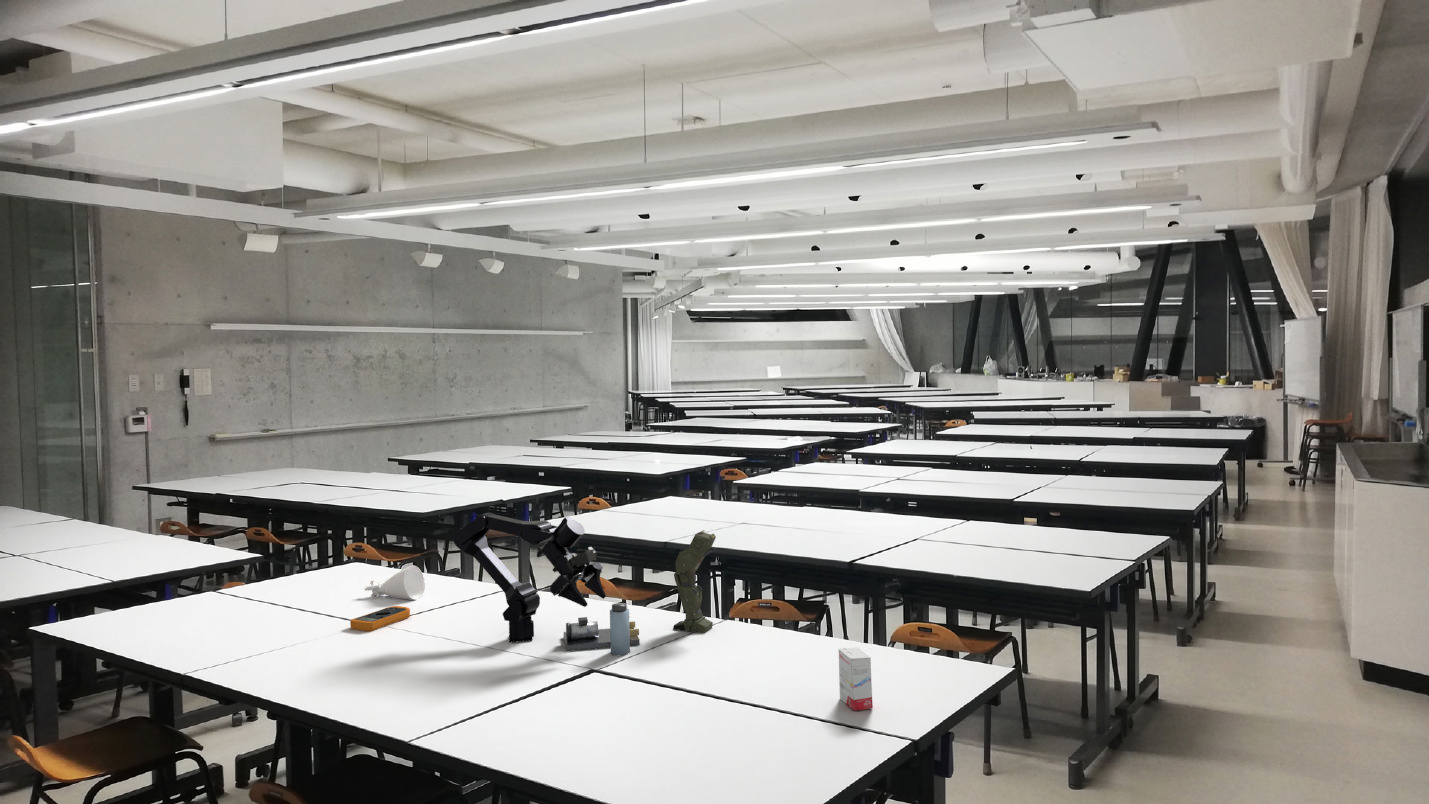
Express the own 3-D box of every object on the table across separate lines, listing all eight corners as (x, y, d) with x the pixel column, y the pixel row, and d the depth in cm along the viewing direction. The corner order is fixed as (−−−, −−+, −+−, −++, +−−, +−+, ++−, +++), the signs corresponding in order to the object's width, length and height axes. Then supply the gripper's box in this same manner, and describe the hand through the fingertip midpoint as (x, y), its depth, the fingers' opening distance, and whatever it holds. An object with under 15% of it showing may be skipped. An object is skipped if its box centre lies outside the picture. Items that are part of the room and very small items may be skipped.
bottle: (611, 656, 248) (610, 608, 248) (609, 650, 253) (608, 603, 253) (631, 654, 249) (630, 606, 249) (628, 648, 254) (627, 601, 254)
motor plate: (566, 651, 253) (566, 625, 253) (563, 637, 266) (563, 613, 266) (641, 644, 258) (640, 619, 257) (634, 631, 270) (634, 607, 270)
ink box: (873, 709, 207) (872, 657, 207) (852, 712, 206) (851, 659, 206) (858, 696, 216) (858, 646, 215) (838, 698, 215) (837, 647, 214)
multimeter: (413, 617, 291) (413, 607, 290) (370, 633, 274) (369, 622, 274) (392, 615, 294) (392, 604, 294) (348, 630, 278) (348, 619, 278)
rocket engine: (362, 568, 317) (408, 559, 312) (382, 584, 325) (427, 575, 321) (354, 599, 309) (401, 590, 305) (375, 614, 318) (421, 605, 313)
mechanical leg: (659, 626, 272) (680, 528, 268) (670, 619, 279) (690, 524, 275) (702, 641, 268) (723, 542, 264) (711, 634, 274) (732, 538, 270)
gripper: (558, 545, 247) (594, 590, 243) (596, 533, 264) (630, 575, 260) (534, 572, 251) (569, 617, 246) (573, 559, 268) (607, 600, 263)
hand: (595, 601), depth 254 cm, fingers open, 9 cm apart
